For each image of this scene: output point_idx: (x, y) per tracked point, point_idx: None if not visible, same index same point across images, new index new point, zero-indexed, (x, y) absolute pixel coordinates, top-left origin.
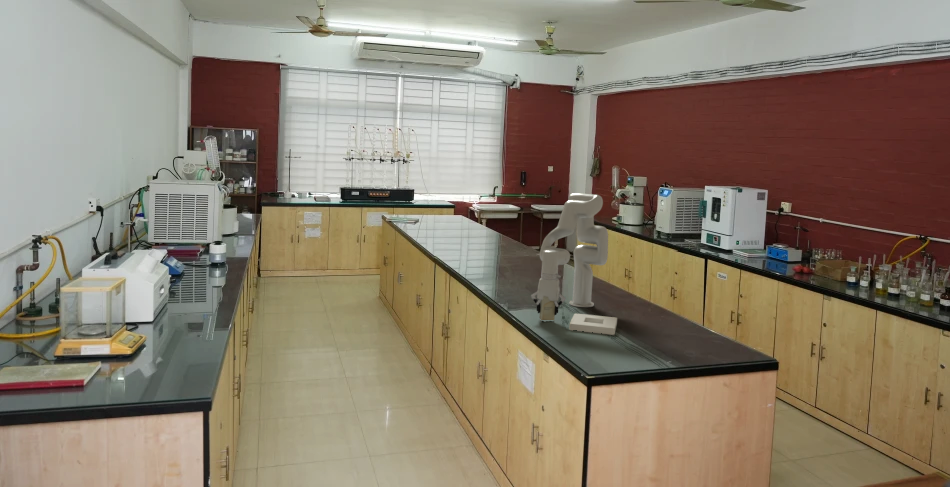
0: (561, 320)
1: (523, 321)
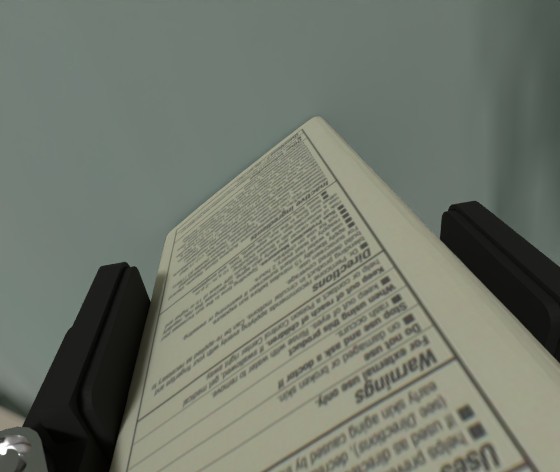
0: (485, 61)
1: (37, 384)
